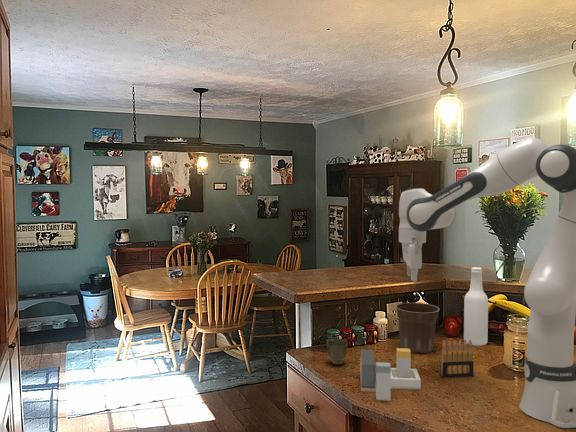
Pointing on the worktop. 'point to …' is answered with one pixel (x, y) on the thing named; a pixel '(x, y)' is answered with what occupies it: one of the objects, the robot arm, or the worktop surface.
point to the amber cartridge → (403, 363)
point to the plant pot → (417, 326)
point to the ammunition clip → (457, 360)
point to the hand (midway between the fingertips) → (412, 278)
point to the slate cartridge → (383, 381)
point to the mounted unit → (367, 371)
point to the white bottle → (476, 311)
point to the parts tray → (406, 381)
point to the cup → (337, 350)
